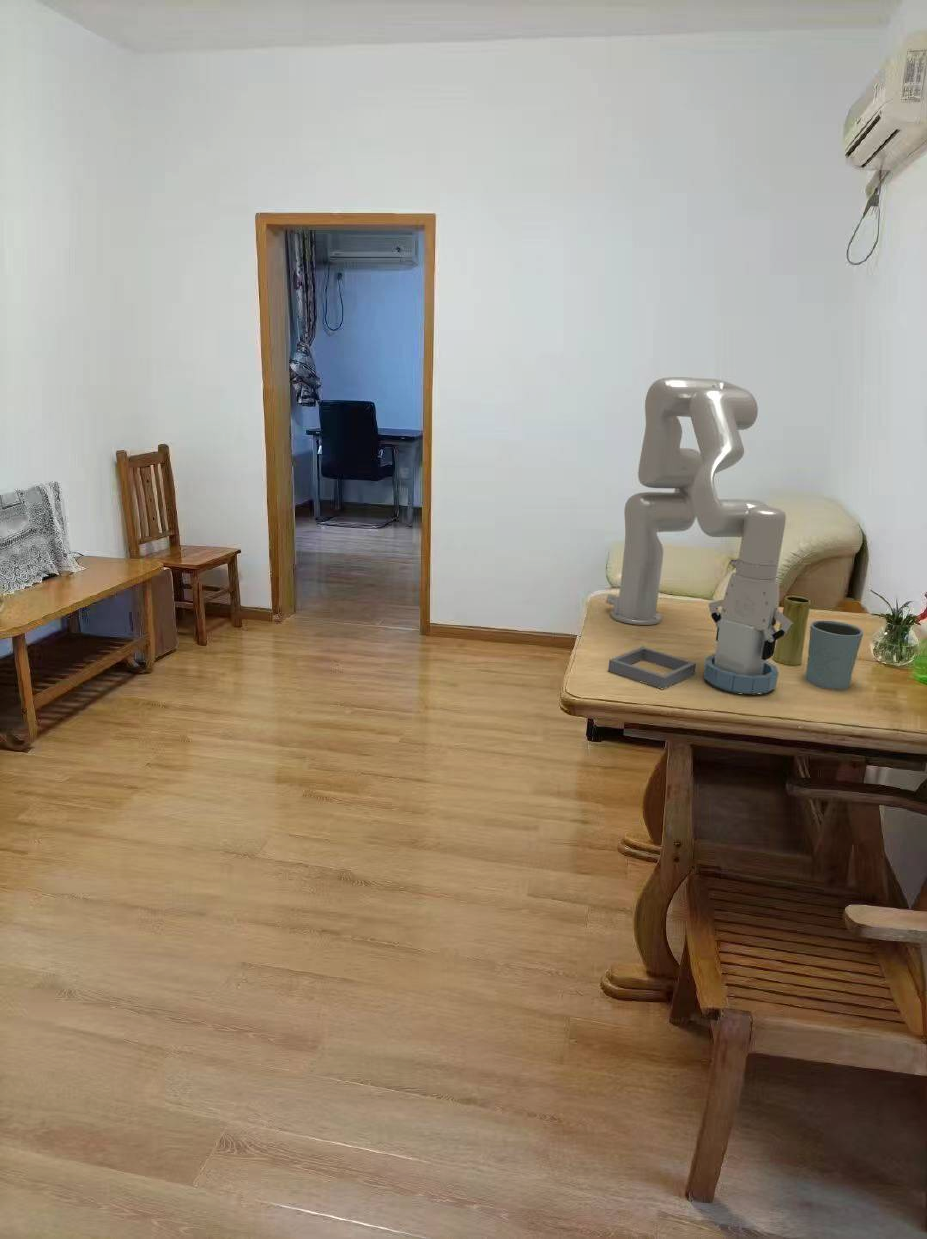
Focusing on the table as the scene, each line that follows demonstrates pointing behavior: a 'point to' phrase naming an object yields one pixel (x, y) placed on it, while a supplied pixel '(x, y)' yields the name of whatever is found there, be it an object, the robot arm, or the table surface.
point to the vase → (793, 631)
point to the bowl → (740, 678)
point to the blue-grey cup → (832, 654)
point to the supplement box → (739, 648)
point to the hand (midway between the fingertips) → (743, 652)
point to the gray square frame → (624, 667)
